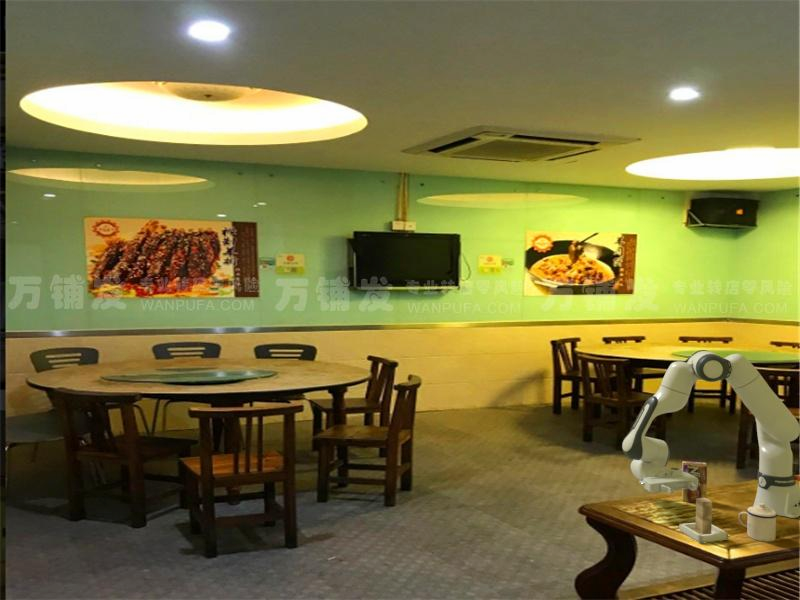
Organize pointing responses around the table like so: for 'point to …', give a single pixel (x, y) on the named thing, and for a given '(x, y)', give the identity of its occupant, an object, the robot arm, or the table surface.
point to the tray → (714, 536)
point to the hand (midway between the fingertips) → (683, 489)
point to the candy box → (701, 473)
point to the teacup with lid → (760, 523)
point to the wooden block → (703, 516)
